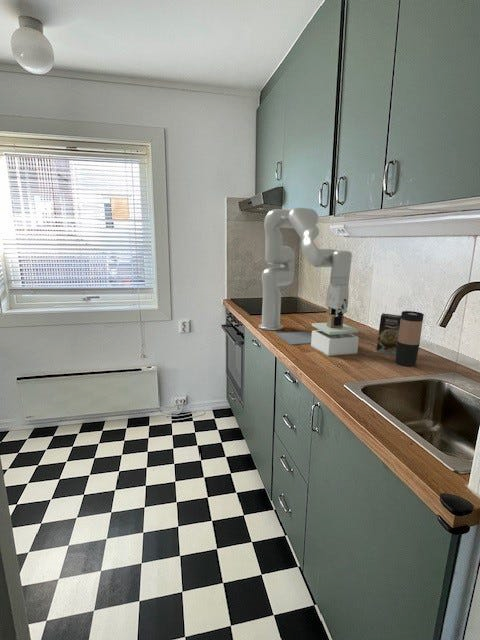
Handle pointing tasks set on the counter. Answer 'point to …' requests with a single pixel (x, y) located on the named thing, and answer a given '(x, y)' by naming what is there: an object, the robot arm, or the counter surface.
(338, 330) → the lid
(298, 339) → the mat
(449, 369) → the counter surface
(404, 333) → the travel mug
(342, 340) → the storage box
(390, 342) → the coffee box
